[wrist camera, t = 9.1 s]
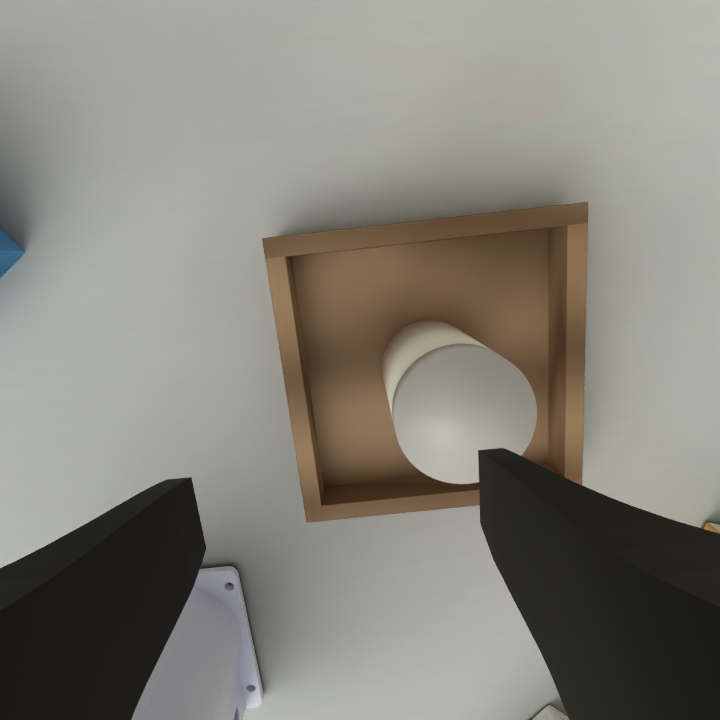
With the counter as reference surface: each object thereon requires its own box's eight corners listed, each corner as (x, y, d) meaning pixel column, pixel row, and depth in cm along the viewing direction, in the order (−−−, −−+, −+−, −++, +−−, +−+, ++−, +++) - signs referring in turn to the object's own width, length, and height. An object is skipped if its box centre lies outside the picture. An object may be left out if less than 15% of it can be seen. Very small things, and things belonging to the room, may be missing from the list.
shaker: (476, 404, 20) (538, 476, 13) (386, 414, 20) (401, 491, 13) (472, 314, 19) (535, 341, 12) (377, 325, 19) (387, 358, 12)
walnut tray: (559, 471, 22) (581, 494, 19) (311, 496, 22) (306, 522, 20) (561, 208, 19) (588, 202, 16) (272, 240, 19) (262, 238, 17)
